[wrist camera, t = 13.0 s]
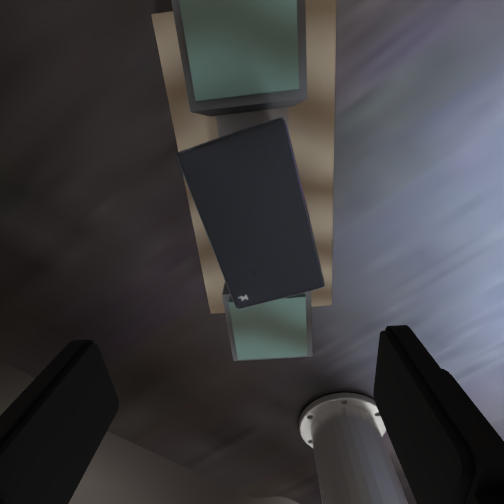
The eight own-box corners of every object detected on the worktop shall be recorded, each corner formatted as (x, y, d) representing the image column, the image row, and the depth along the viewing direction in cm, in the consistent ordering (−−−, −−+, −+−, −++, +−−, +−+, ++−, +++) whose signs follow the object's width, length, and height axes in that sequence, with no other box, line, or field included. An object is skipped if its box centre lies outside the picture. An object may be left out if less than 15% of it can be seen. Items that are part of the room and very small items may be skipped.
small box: (306, 233, 27) (331, 291, 17) (243, 251, 28) (233, 315, 18) (277, 119, 23) (289, 112, 13) (205, 144, 24) (167, 154, 14)
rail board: (328, 298, 33) (354, 362, 24) (212, 306, 34) (195, 370, 25) (331, -4, 22) (382, -99, 13) (157, 21, 23) (89, -51, 14)
